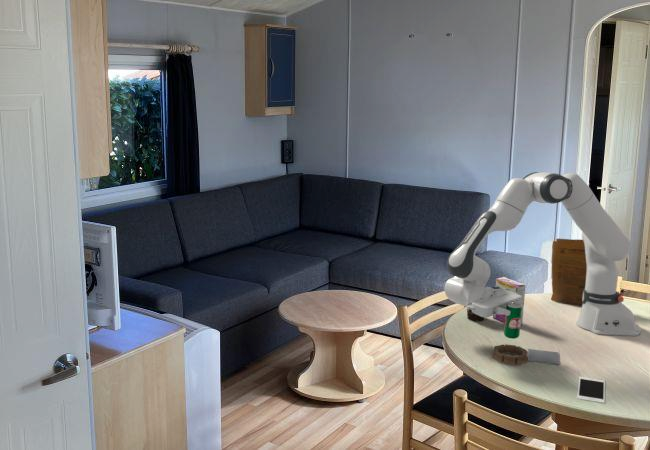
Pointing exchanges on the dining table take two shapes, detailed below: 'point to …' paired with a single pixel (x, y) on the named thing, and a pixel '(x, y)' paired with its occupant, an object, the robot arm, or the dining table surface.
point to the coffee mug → (474, 316)
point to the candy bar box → (513, 287)
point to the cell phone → (591, 390)
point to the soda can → (513, 320)
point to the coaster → (543, 356)
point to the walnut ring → (510, 359)
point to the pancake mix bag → (568, 271)
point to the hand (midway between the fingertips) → (516, 311)
